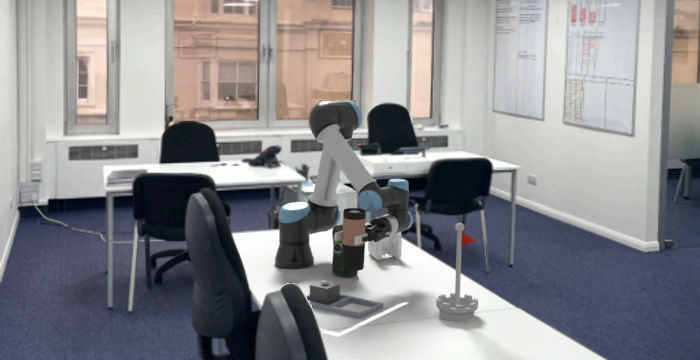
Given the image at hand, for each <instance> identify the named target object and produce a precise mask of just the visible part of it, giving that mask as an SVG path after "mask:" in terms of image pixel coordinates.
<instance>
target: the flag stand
mask: <svg viewBox="0 0 700 360" xmlns="http://www.w3.org/2000/svg"><path fill="white" fill-rule="evenodd" d="M454 230H455V231H456V232H457V233H456V255H455V256H456V258H455V259H456V260H455V261H456V262H455V285H454V286H455V287H454V288H455V289H454V292H450V293H449V296H447V295H446V294H444V293H442V294H440V295H438V297H436V308H437V309H438V312H439V314H438V315H439V317H440V318H442V319H444V320H447V321H453V322H467V321H471V320H474V318H475V312H476V311H477V310H478V308H479V299H478V297H473V295H470V294H467V293H466V294H464V296H461V277H462V276H461V275H462V272H461V271H462V250H463V249H462V247H463V246H465V245H468V244H470V243H473V242H476V239H474V237H473V238H472V237H471V236H469V235H467V234H465V233H464V230H465V225H464V224H463V223H462V222H458V223H456V224H455V226H454Z"/></svg>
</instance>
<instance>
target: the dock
mask: <svg viewBox="0 0 700 360" xmlns="http://www.w3.org/2000/svg"><path fill="white" fill-rule="evenodd" d="M305 296H306V297H307V299H308V301H309V302H310V304H311V305H312V307H311V308H313V309H318V310H322V311H326V312H329V313H334V314H338V315H342V316H347V317H350V318H355V319H359V320H362V319H363V318H365V317H367V316H369V315H372V314H373V313H376V312H379V311H380V310H382V309H384V303H382V302H378V301H375V300H369V299H365V298H360V297H356V296H351V295H347V294H344V293H340V300H339V301H337V302H335V303H332V304H330V305H325V304H321V303H317V302H313V301H310V293H309V294H305Z"/></svg>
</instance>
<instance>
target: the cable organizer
mask: <svg viewBox="0 0 700 360" xmlns="http://www.w3.org/2000/svg"><path fill="white" fill-rule="evenodd" d="M402 238H403V235H402V232H399V233H396V234H393V235H390V237H386V238H384V239H382V240H380V241H378V242H374V240H372V241H371V242H369V241H367V251H368V253H369V254H370V255H371V256H372V257H373V259H375V260H376V261H381V260H383V258H385V257H386V255H389V254H390V256H391V257H394V258H395V259H396V260H399V259H401V258H402V244H403V243H402Z"/></svg>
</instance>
